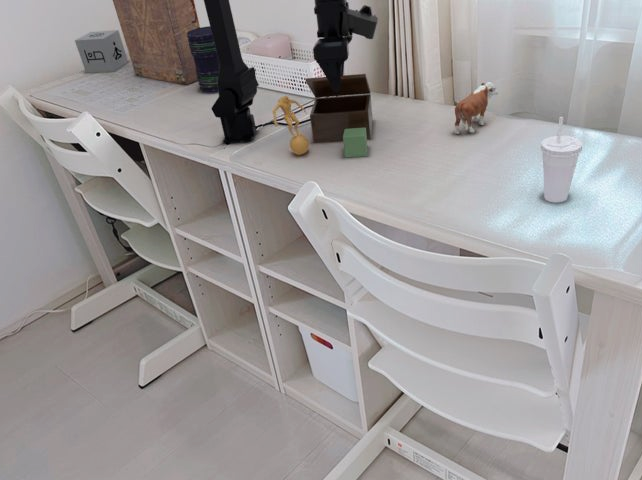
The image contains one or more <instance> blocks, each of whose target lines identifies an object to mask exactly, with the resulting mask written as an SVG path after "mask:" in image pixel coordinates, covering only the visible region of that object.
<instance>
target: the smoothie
mask: <svg viewBox="0 0 642 480" xmlns="http://www.w3.org/2000/svg"><path fill="white" fill-rule="evenodd" d="M563 123H564V116H559V118H558V128H557V135H554V136H548V137H546V138H544V139H543V140H542V141H541V142H540V152H542V168H543V169H542V171H543V172H542V173H543V198H544V200H545V201H547V202H549V203H555V204H557V203H558V204H559V203H563V202H566V201H567V200H568V198H569V197H568V196H569V194H570V193H569V192H570V189H571V185H572V181H573V178H574V175H575V170H576V166H577V163H578V160H579V155H580V154H581V153H582V152H583V146H584V145H583V142H582V141H581V139H579V138H577V137H574V136H570V135H562V133H563V132H562V131H563Z"/></svg>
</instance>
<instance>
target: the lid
mask: <svg viewBox="0 0 642 480" xmlns="http://www.w3.org/2000/svg"><path fill="white" fill-rule="evenodd" d="M305 83H306V85H307V86H308V88H309V89H310V91H311V93H312V95H313V96H314V98H315V99H316V98H323V97H337V96H351V95H364V94H371V88H370V84H369V81H368V78H367V74H366V73H359V74H357V73H356V74H345V75H344V74H343V76H341V84H340V91H337V92H335V91H334V90H333V88H332V86H331V85H330V83H329V81H328V79H327V78H326V76H320V77H319V76H318V77H306V78H305Z"/></svg>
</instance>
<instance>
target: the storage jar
mask: <svg viewBox="0 0 642 480" xmlns="http://www.w3.org/2000/svg"><path fill="white" fill-rule="evenodd" d="M192 23H196V21H192ZM187 37H188V42H189V47H190V50H191V54H192V56H193V58H194V62H195V66H196V75H197V82H198V85H199V90H200V92H201V93H204V94H219V93H218V84H217V80H218V74H219V68H220V65H219V60H218V56H217V52H216V48H215V44H214V40H213V36H212V32H211V28H210V25H209V26H200V28H197V29H193V30H191V31H189V32H187Z"/></svg>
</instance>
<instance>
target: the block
mask: <svg viewBox="0 0 642 480" xmlns="http://www.w3.org/2000/svg"><path fill="white" fill-rule="evenodd" d="M342 143H343V151H344V158H345V159H347V158H359V157H360V158H361V157H363V158H364V157H367V156H368V155H367V154H368V139H367V135H366V128H351V129H345V130H344V135H343V141H342Z"/></svg>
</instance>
